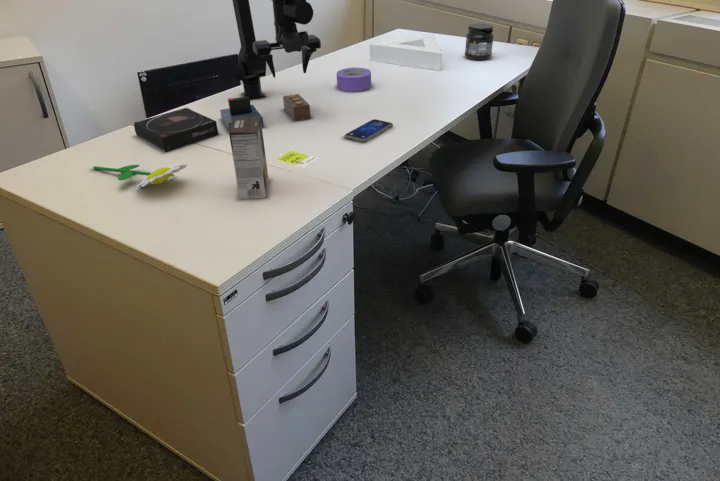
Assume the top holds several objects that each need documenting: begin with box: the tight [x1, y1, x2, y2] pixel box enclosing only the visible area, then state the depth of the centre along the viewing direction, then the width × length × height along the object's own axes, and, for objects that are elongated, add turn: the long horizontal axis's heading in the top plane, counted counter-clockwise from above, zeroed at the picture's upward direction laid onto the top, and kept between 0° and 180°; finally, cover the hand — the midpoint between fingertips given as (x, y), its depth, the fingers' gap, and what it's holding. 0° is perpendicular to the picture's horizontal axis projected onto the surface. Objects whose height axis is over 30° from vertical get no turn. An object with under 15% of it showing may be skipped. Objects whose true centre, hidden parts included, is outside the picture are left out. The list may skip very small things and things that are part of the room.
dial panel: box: [219, 104, 265, 132], centre depth 163 cm, size 12×10×3 cm
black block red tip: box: [227, 96, 252, 116], centre depth 160 cm, size 6×2×5 cm, turn 114°
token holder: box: [282, 93, 311, 122], centre depth 168 cm, size 11×5×5 cm, turn 23°
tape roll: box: [336, 67, 372, 93], centre depth 189 cm, size 12×12×5 cm
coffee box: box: [228, 116, 270, 200], centre depth 123 cm, size 9×6×16 cm
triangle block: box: [369, 33, 442, 72], centre depth 215 cm, size 30×26×6 cm
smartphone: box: [344, 118, 394, 143], centre depth 155 cm, size 7×1×15 cm
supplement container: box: [464, 22, 495, 62], centre depth 215 cm, size 10×10×12 cm
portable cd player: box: [133, 107, 219, 153], centre depth 156 cm, size 16×17×4 cm
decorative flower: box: [93, 164, 188, 192], centre depth 132 cm, size 13×5×30 cm
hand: (289, 75), depth 162 cm, fingers open, 9 cm apart
